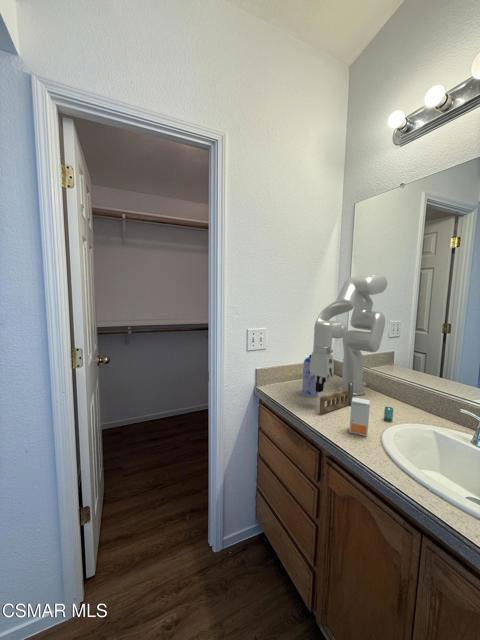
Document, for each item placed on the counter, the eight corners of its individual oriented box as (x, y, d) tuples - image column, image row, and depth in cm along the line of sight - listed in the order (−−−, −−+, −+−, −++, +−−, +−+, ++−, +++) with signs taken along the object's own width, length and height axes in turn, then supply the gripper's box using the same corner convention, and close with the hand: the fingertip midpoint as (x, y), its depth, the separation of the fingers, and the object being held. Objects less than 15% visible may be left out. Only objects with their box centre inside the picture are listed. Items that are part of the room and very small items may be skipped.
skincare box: (349, 432, 99) (351, 400, 98) (350, 427, 103) (352, 396, 102) (367, 437, 96) (369, 404, 95) (368, 431, 100) (370, 400, 99)
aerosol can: (318, 398, 131) (320, 357, 129) (302, 396, 133) (303, 356, 131) (317, 392, 139) (319, 353, 137) (301, 391, 140) (303, 352, 138)
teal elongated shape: (349, 403, 126) (350, 382, 125) (393, 420, 109) (395, 396, 108) (345, 404, 124) (346, 383, 123) (389, 422, 107) (391, 397, 106)
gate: (346, 403, 124) (347, 389, 123) (348, 404, 123) (349, 390, 122) (319, 412, 114) (320, 396, 113) (321, 413, 113) (322, 397, 112)
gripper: (342, 352, 115) (339, 395, 116) (314, 346, 127) (312, 385, 129) (330, 354, 111) (327, 398, 112) (303, 347, 123) (300, 387, 125)
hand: (319, 391), depth 121 cm, fingers closed
